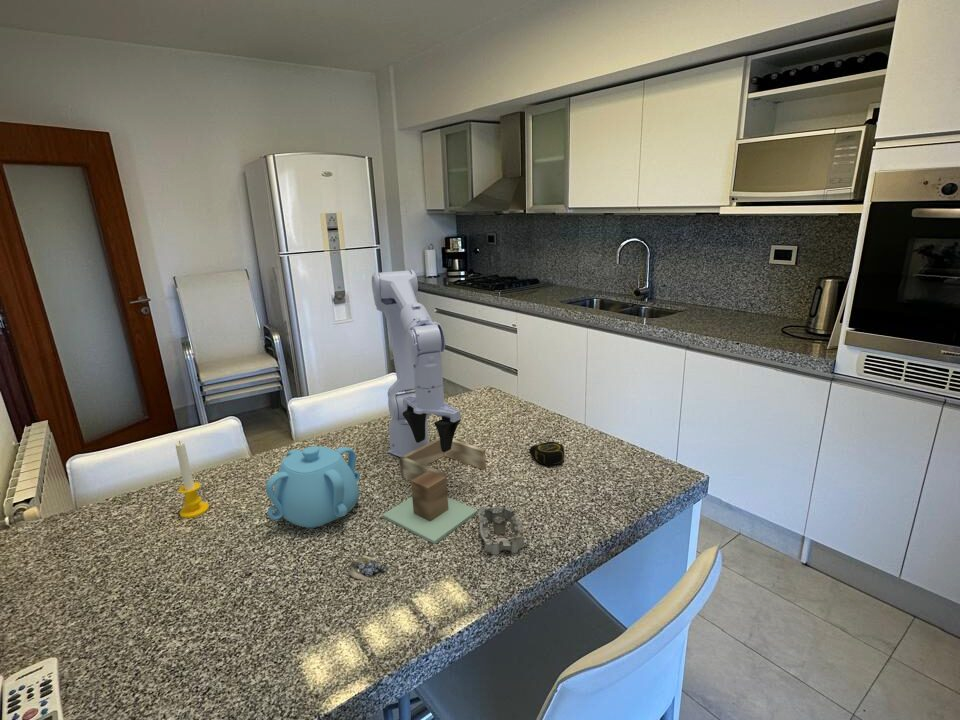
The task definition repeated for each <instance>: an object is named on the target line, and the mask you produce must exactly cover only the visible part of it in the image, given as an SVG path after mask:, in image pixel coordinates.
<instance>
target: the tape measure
mask: <svg viewBox="0 0 960 720" xmlns="http://www.w3.org/2000/svg"><path fill="white" fill-rule="evenodd" d="M528 451H529V452H528V453H529V454H530V457H531V458H533V459H535V460H536V461H537V462H538V463H540V464H543V465H547V466H548V465H549V466H551V465H556V464H560V463H561V462H563V461H564V459H565V448H564V446H563V445H562V444H561V443H558V442H555V441H547V442H542V443H538V444H535V445H532V446H530V448H528Z"/></svg>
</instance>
